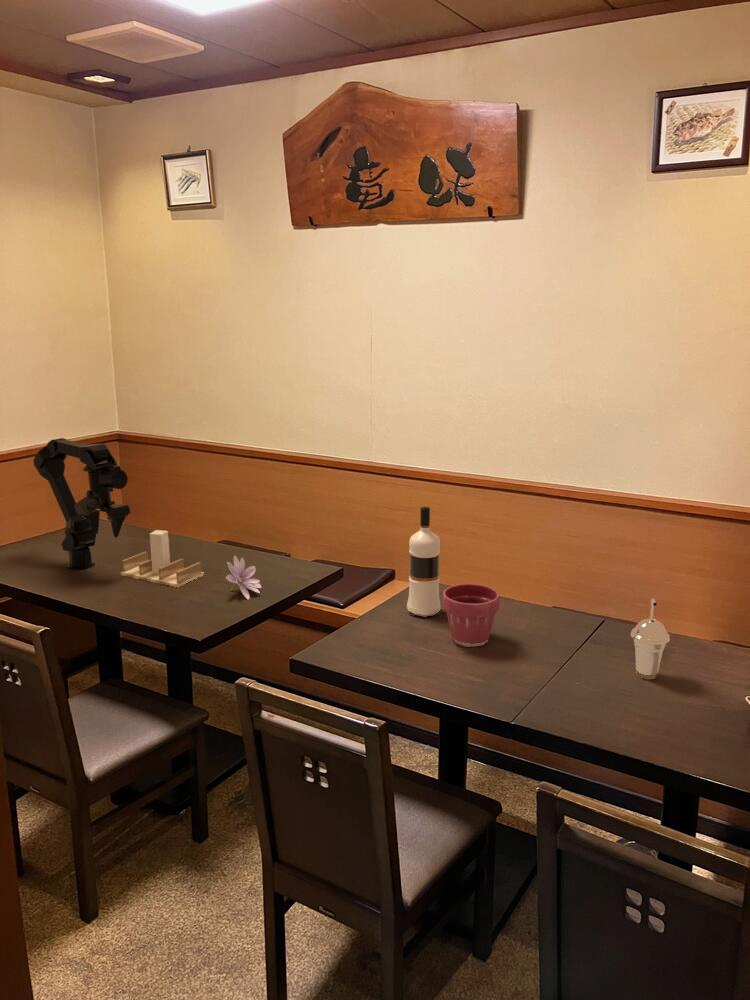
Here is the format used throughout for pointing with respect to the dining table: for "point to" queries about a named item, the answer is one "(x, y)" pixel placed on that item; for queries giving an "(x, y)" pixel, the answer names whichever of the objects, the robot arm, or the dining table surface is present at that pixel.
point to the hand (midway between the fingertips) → (105, 535)
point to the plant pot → (470, 611)
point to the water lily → (242, 577)
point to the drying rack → (160, 571)
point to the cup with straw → (649, 643)
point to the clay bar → (159, 550)
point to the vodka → (424, 569)
